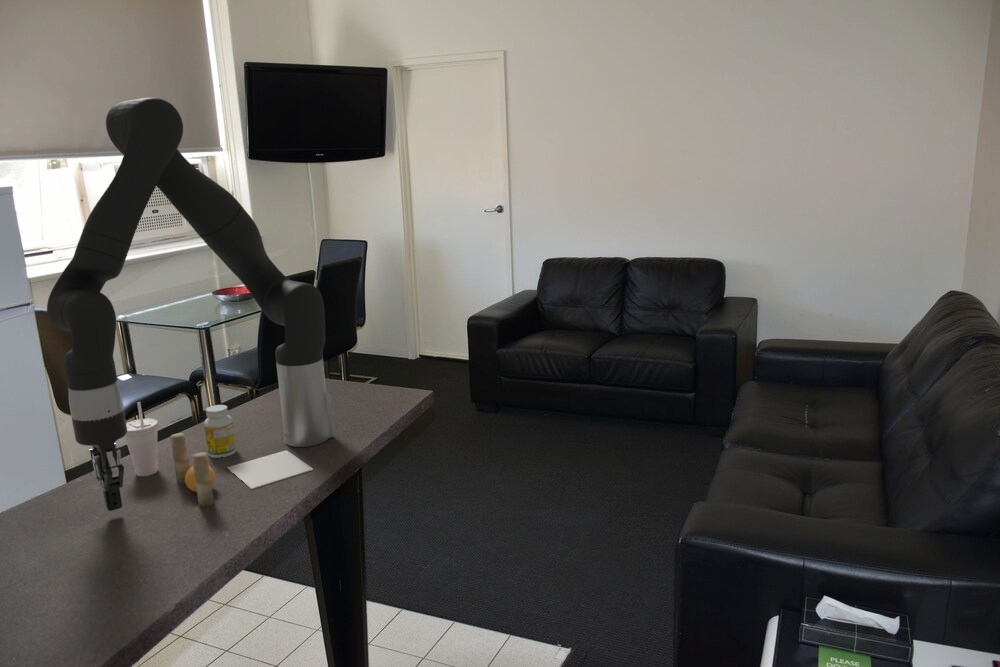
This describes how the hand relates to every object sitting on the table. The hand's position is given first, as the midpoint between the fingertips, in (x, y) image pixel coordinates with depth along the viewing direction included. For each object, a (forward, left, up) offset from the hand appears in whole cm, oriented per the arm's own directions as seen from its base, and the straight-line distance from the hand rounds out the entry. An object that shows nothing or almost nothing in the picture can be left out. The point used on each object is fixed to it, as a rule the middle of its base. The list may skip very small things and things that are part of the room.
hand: (114, 507), depth 125 cm
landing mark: (-27, 0, -2) cm, 27 cm away
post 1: (-13, -6, -2) cm, 14 cm away
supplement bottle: (-23, -14, -2) cm, 27 cm away
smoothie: (-9, -15, -2) cm, 18 cm away
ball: (-14, 0, +1) cm, 14 cm away
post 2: (-13, +6, -2) cm, 14 cm away
